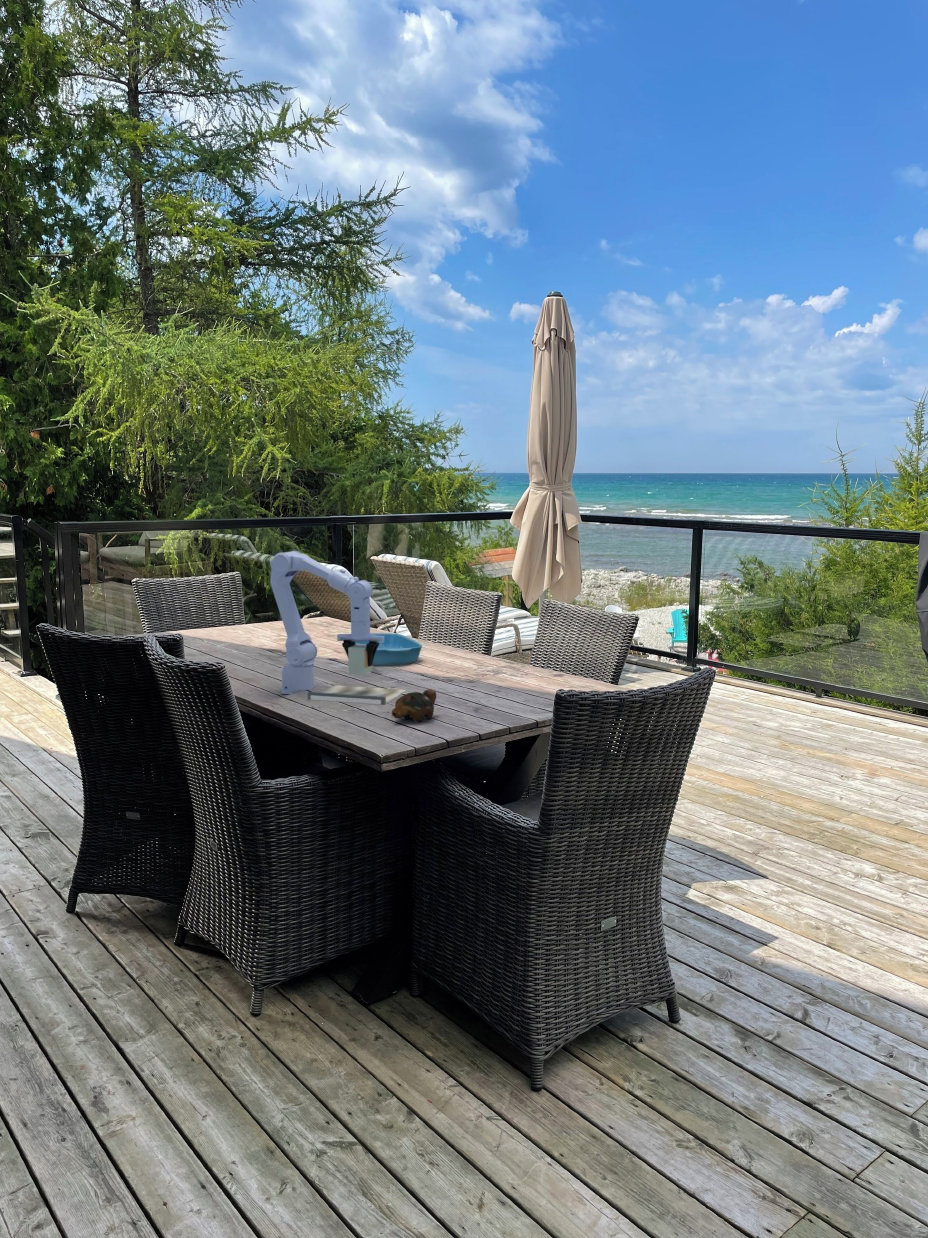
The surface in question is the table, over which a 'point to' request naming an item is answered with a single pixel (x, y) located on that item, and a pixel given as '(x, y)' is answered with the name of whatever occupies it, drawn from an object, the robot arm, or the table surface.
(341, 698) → the rail
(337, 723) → the table surface
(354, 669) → the carton
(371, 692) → the shelf board
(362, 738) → the table surface
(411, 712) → the decorative turtle
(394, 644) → the casserole dish
